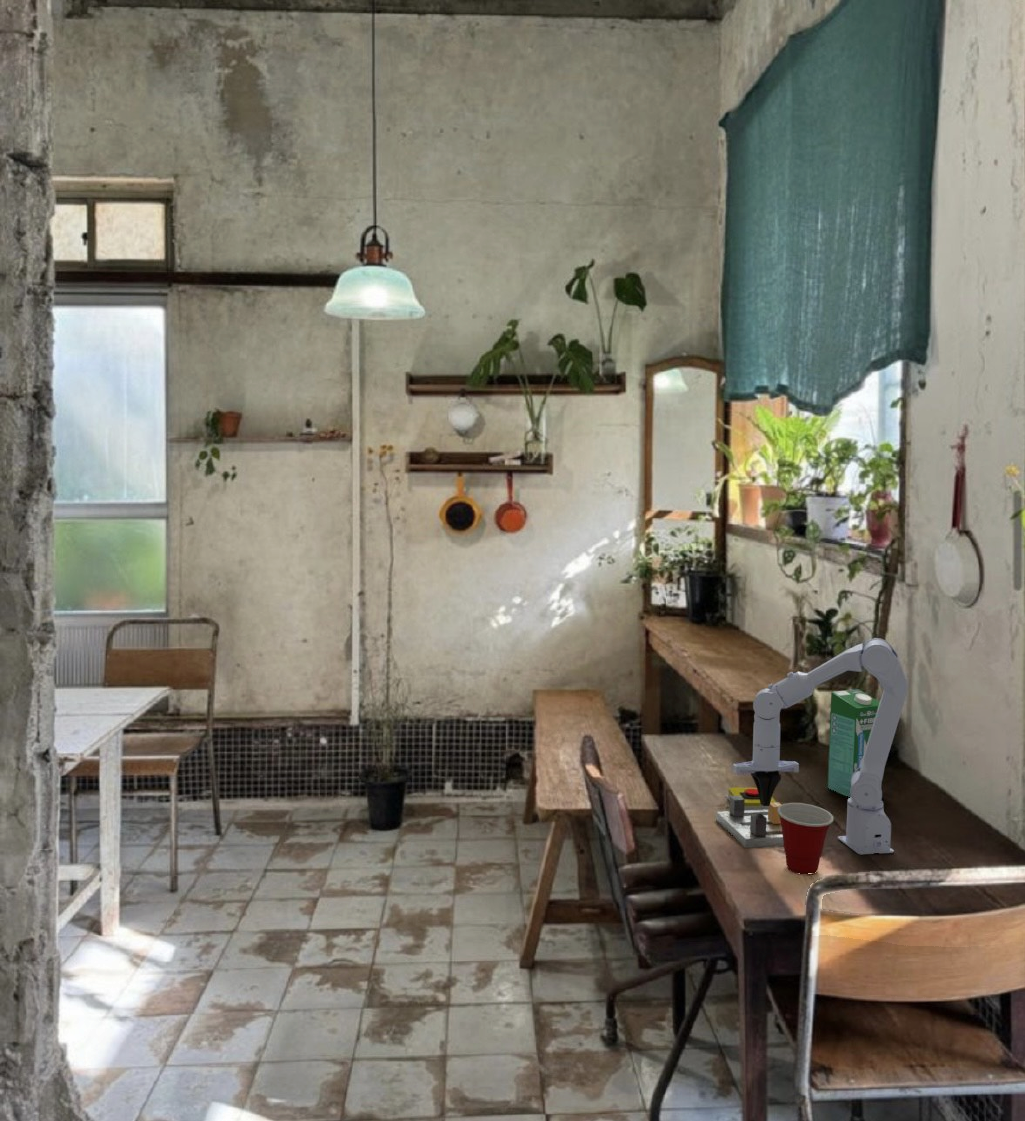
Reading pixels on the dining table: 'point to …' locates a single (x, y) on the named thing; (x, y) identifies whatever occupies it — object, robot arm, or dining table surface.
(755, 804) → the emergency button
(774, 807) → the breaker
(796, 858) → the plastic cup
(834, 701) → the milk carton
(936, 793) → the dining table surface
